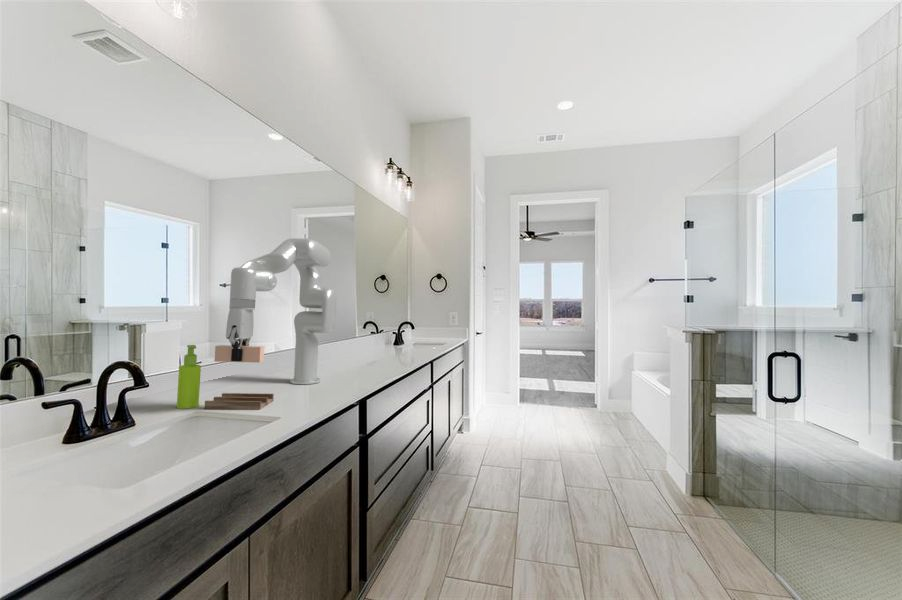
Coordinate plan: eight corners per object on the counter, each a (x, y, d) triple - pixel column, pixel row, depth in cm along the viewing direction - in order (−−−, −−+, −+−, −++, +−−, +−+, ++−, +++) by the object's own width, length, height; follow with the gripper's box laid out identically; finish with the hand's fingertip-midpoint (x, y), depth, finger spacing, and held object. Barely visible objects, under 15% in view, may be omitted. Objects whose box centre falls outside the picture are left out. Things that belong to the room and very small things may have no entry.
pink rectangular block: (219, 360, 127) (220, 345, 127) (263, 361, 129) (264, 346, 129) (214, 361, 124) (215, 346, 124) (259, 362, 125) (260, 347, 125)
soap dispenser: (178, 410, 119) (181, 346, 120) (175, 405, 125) (179, 344, 125) (200, 407, 123) (203, 345, 124) (197, 403, 128) (200, 343, 129)
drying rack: (222, 400, 134) (223, 393, 134) (273, 400, 135) (273, 393, 135) (204, 409, 122) (204, 401, 122) (260, 409, 123) (260, 401, 123)
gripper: (241, 305, 135) (238, 357, 134) (218, 304, 118) (214, 363, 118) (263, 305, 135) (261, 357, 135) (243, 305, 119) (240, 364, 118)
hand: (239, 359), depth 126 cm, fingers closed on pink rectangular block, 3 cm apart
